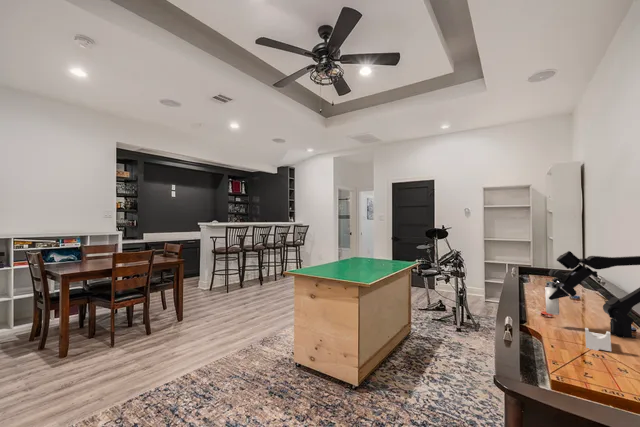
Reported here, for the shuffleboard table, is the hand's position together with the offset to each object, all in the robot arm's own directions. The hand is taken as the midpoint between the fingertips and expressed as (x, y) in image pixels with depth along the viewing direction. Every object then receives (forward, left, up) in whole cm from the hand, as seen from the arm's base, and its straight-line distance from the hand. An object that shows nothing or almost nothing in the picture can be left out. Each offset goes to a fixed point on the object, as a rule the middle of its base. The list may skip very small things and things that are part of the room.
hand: (548, 297), depth 141 cm
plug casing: (-1, -1, -7) cm, 7 cm away
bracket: (-23, -3, -14) cm, 27 cm away
